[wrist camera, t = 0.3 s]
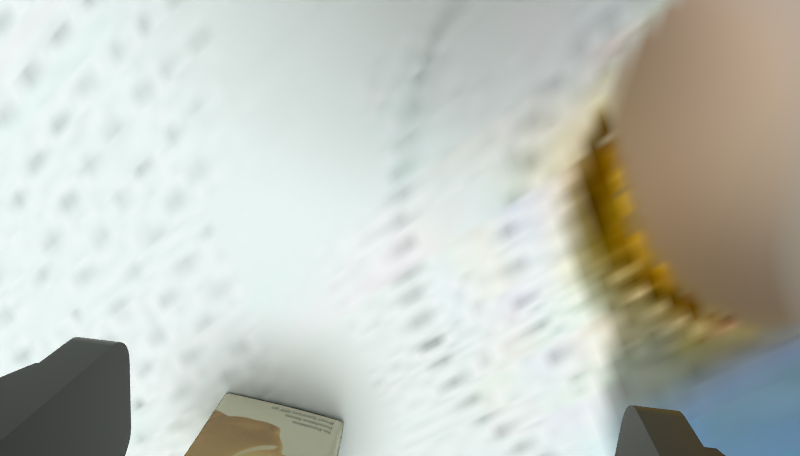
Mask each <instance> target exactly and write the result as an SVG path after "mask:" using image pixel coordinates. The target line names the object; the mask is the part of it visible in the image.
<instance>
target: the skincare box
mask: <svg viewBox="0 0 800 456" xmlns="http://www.w3.org/2000/svg"><path fill="white" fill-rule="evenodd" d="M342 430H343V423H342V422H340V421H338V420H334V419H331V418H327V417H324V416H320V415H317V414H313V413H309V412H306V411H302V410H298V409H294V408H290V407H286V406H282V405H278V404H274V403H270V402H265V401H261V400H256V399H252V398H248V397H243V396H239V395H234V394H230V393H227V394H225V396H224V397H223V398H222V400H221V401H220V403H219V404H218V406H217V408H216V409H215V411H214V412H213V414H212V415H211V417H210V418H209V420H208V421H207V423H206V424H205V426H204V427H203V429H202V430H201V432H200V433H199V435H198V436H197V438H196V439H195V441H194V442H193V444H192V445H191V447H190V448H189V450H188V451H187V453H186V454H185V456H338V452H339V447H340V442H341V436H342Z"/></svg>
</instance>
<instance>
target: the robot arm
mask: <svg viewBox="0 0 800 456" xmlns="http://www.w3.org/2000/svg"><path fill="white" fill-rule="evenodd" d="M130 434H131V407H130V363H129V353H128V349H127V347H126V345H125V344H124V343H121V342H114V341H106V340H97V339H89V338H81V337H75V338H73V339H71V340H69V341H68V342H67V343H65V344H64V345H63V346H61V347H60V348H59V349H57V350H56V351H55V352H53V353H52V354H50V355H49V356H48V357H46V358H45V359H44V360H42V361H41V362H40V363H34V364H32V365H30V366H27V367H25V368H22V369H20V370H17V371H15V372H12V373H10V374H7V375H5V376H3V377H1V378H0V456H125V454H126V451H127V448H128V444H129V440H130ZM615 456H725V455H724V454H722V453H721V452H720V451H719V450H717V449H716V448H707V447H703V445H702V443H701V442H700V440H699V439H698V437H697V436H696V434H695V432H694V431H693V429H692V428H691V426H690V424H689V423H688V421H687V420H686V418H685V416H684V415H683V414H682V413H681V412H680V411H674V410H666V409H657V408H649V407H641V406H633V405H630V406H628V407H627V409H626V410H625V413H624V415H623V419H622V423H621V428H620V433H619V438H618V443H617V448H616V453H615Z"/></svg>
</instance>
